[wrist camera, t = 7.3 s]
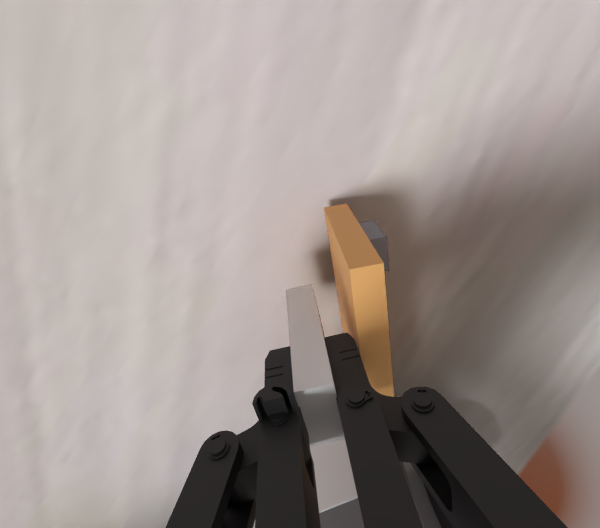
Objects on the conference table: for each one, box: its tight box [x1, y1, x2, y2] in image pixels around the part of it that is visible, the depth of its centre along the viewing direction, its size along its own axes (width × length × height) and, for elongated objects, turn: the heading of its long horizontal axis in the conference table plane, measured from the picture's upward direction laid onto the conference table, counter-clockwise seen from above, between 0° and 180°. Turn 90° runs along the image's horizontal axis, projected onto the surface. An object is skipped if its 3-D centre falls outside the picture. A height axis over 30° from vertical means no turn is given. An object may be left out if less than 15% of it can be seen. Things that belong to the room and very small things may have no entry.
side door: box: [324, 203, 394, 397], centre depth 19 cm, size 14×2×7 cm, turn 10°
